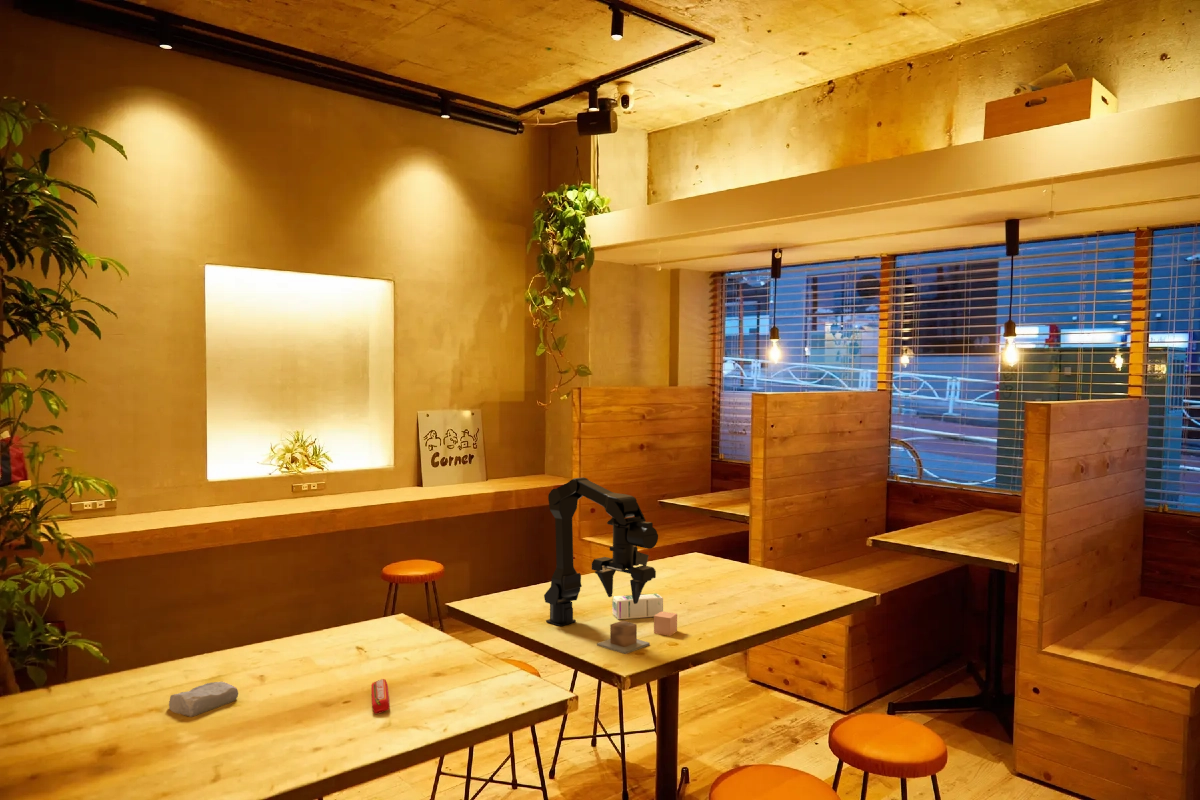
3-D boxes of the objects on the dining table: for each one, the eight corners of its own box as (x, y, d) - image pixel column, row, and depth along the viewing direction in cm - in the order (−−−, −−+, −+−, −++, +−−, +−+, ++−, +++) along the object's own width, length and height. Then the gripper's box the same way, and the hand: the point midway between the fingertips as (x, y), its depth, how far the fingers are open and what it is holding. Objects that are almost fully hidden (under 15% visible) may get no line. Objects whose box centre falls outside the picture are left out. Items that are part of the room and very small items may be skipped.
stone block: (164, 718, 176) (191, 718, 171) (162, 695, 177) (189, 695, 172) (214, 701, 187) (242, 701, 181) (212, 680, 187) (239, 679, 182)
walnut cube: (610, 643, 220) (610, 624, 219) (622, 638, 223) (622, 620, 223) (624, 647, 216) (624, 628, 216) (636, 642, 220) (636, 624, 220)
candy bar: (371, 690, 188) (371, 677, 188) (387, 688, 189) (387, 675, 189) (372, 717, 173) (372, 703, 173) (390, 715, 174) (390, 701, 174)
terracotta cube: (653, 633, 230) (654, 615, 230) (660, 628, 235) (661, 611, 235) (670, 635, 228) (670, 618, 228) (677, 631, 233) (677, 613, 232)
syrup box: (663, 597, 246) (617, 599, 243) (663, 616, 246) (616, 619, 243) (657, 593, 252) (612, 595, 248) (657, 612, 252) (611, 614, 248)
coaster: (597, 645, 219) (597, 643, 219) (621, 636, 227) (621, 634, 227) (625, 654, 213) (625, 651, 213) (649, 644, 220) (649, 642, 220)
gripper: (669, 543, 220) (668, 601, 220) (617, 534, 233) (617, 588, 233) (642, 549, 212) (641, 609, 212) (590, 539, 225) (590, 595, 225)
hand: (622, 600), depth 221 cm, fingers open, 9 cm apart
